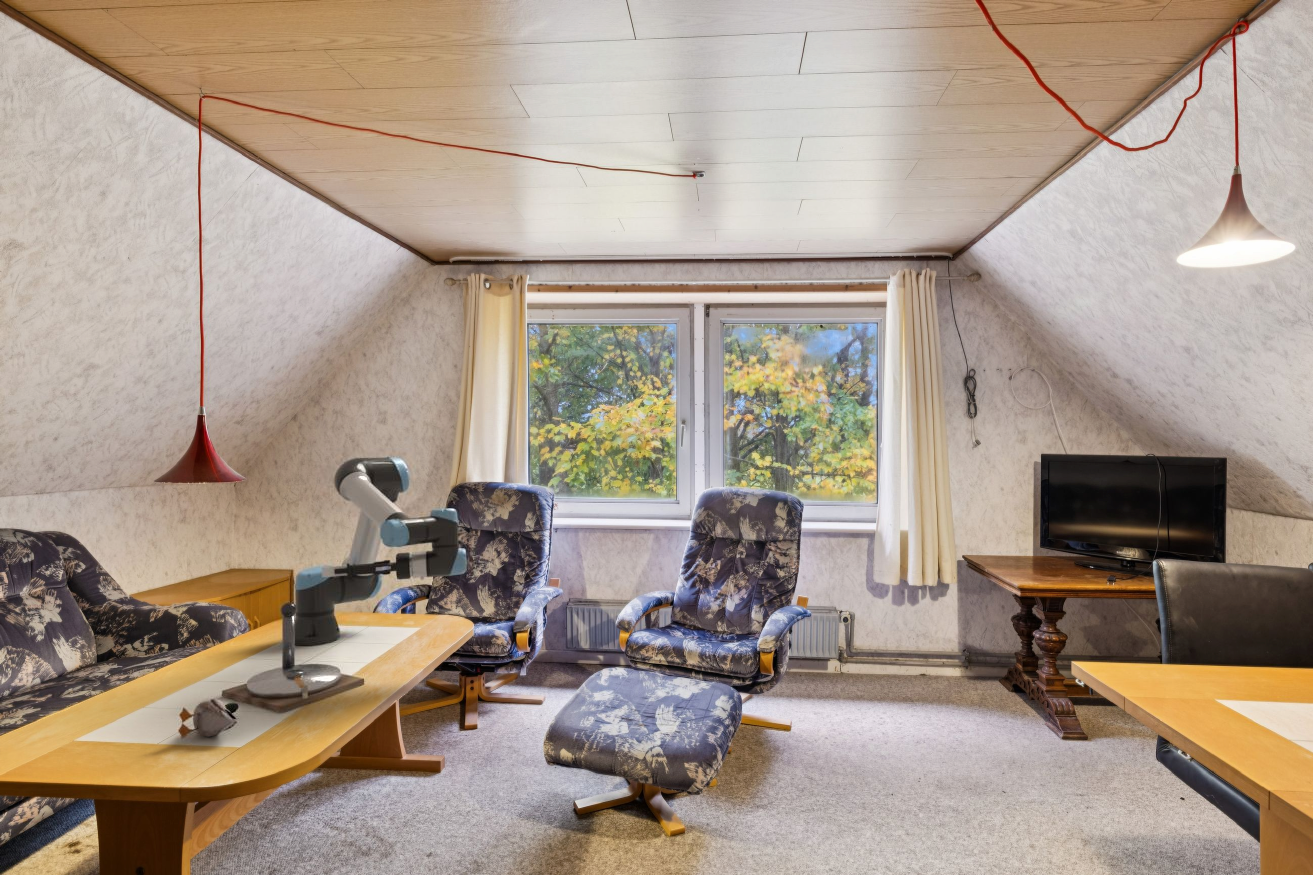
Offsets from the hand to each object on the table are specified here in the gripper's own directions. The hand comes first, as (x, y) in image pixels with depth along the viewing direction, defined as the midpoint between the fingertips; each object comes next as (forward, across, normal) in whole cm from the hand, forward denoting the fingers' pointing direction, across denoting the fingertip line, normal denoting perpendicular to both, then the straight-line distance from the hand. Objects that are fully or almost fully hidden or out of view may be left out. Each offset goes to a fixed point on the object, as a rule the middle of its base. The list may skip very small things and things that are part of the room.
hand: (322, 572), depth 207 cm
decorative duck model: (+15, -35, -32) cm, 50 cm away
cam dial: (+6, -9, -28) cm, 30 cm away
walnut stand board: (+6, -9, -30) cm, 31 cm away
